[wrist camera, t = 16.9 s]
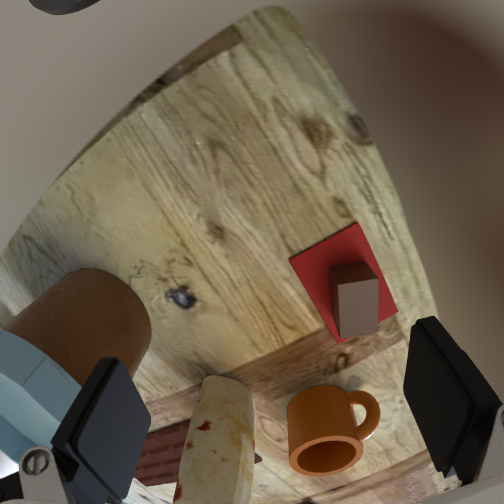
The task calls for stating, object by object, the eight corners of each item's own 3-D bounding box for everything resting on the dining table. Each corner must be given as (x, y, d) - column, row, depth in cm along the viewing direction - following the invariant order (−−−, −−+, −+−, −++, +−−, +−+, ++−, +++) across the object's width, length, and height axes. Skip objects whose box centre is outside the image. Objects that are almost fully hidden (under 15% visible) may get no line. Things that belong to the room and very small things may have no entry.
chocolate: (328, 266, 33) (337, 284, 28) (365, 260, 32) (379, 277, 28) (332, 316, 34) (339, 339, 30) (366, 310, 34) (378, 332, 30)
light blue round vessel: (34, 267, 35) (-73, 347, 16) (138, 249, 33) (26, 361, 14) (76, 369, 40) (10, 468, 21) (176, 370, 38) (129, 503, 20)
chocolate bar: (209, 412, 41) (208, 417, 40) (262, 458, 44) (261, 463, 43) (98, 446, 46) (96, 450, 45) (147, 484, 50) (146, 487, 49)
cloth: (288, 259, 33) (288, 260, 33) (357, 221, 31) (358, 222, 31) (337, 342, 36) (337, 344, 36) (397, 310, 34) (398, 312, 34)
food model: (188, 375, 39) (147, 511, 20) (234, 360, 37) (212, 508, 19) (225, 421, 41) (208, 545, 22) (268, 409, 40) (266, 542, 21)
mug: (376, 408, 40) (392, 456, 31) (297, 433, 42) (301, 482, 33) (366, 367, 37) (385, 417, 29) (277, 395, 39) (278, 448, 31)
